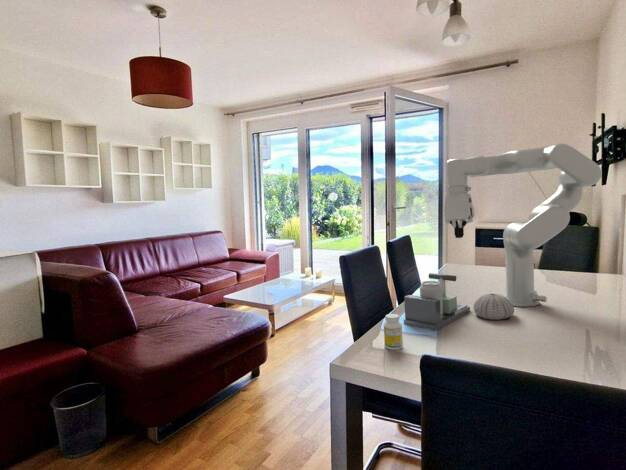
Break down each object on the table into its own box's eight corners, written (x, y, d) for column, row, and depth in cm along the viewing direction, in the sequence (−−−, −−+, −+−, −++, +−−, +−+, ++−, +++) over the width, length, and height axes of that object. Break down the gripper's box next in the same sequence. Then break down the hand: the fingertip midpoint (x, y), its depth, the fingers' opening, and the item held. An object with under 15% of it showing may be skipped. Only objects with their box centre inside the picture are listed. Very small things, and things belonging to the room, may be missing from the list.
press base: (470, 310, 139) (469, 286, 138) (435, 330, 121) (433, 302, 120) (440, 305, 148) (439, 282, 147) (403, 323, 130) (402, 297, 129)
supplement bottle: (397, 351, 107) (396, 319, 106) (381, 348, 110) (379, 316, 110) (406, 345, 111) (404, 314, 110) (390, 342, 115) (388, 312, 114)
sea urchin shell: (474, 321, 128) (473, 298, 127) (472, 309, 140) (472, 289, 140) (517, 323, 123) (516, 299, 122) (512, 311, 135) (511, 289, 135)
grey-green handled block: (458, 309, 134) (457, 275, 133) (450, 314, 130) (449, 278, 129) (433, 305, 142) (431, 272, 141) (425, 309, 138) (423, 275, 137)
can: (421, 318, 129) (420, 285, 128) (420, 312, 136) (418, 280, 135) (444, 318, 127) (443, 284, 126) (441, 311, 134) (440, 279, 133)
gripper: (480, 189, 140) (482, 236, 142) (444, 192, 151) (446, 236, 153) (472, 189, 135) (474, 239, 137) (434, 192, 146) (436, 238, 148)
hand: (459, 237), depth 145 cm, fingers closed
